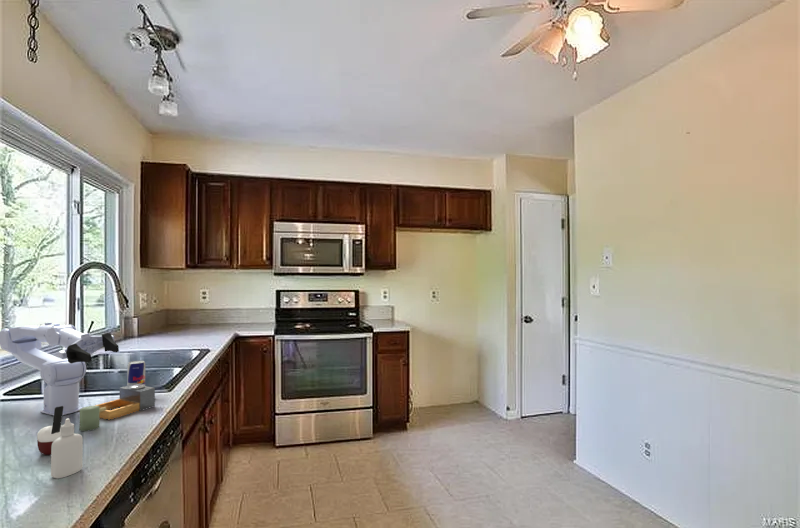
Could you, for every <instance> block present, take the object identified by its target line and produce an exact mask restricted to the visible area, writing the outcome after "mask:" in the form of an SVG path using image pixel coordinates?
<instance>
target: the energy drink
mask: <svg viewBox="0 0 800 528" xmlns="http://www.w3.org/2000/svg"><path fill="white" fill-rule="evenodd" d="M126 370H127V373H126V374H127V377H126V378H127V382H126V383H127V384H126V386H129V385H133V384H144V385H145V386H146V362H145V360H131V361H128V364H127V369H126Z"/></svg>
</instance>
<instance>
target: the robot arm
mask: <svg viewBox="0 0 800 528" xmlns="http://www.w3.org/2000/svg"><path fill="white" fill-rule="evenodd" d="M115 340H116V339H115V335H112V334H111V332H110V333H109V332H106V333H103V334H101V335H90V333H89V332H84V333H83V332H81V331H79V330H77V328H76V326H74V325H73V324H71V323H70V324H65V325H61V324H60V323H53V322H44V323H43V324H41V325H38V324H32V325H30V324H29V325H21V326H14V327H8V328H2V329H1V330H0V348H1V349H2V350H3V351H6V352H8V353H11V354H12V356H13V357H14V358H15V359H17V361H18V362H20V363H22V364H24V365H26V366H28V367H31V368H33V369H34V370H38V371H39V374H40V376H39V377H40V379H42V380H43V381H44V383H46V384H47V385H46V386H45V388H44V391H43V409H41V410H40V411H39V412H40V413H42V414H47V415H50V416H53V417H54V411H55V408H56V407H60V406H63V414H62V416H65V415H69V414H72V413H76V412H80V409H81V408H83V407H84V406H79V405H80V402H79V401H80V400H79V397H80V396H79V394H80V382H81V381H82V378H84V377H85V375H86V373H87V364H86V363H91V362H93V361H92V355H93V354H94V353H96V352H97V351H99V350H100V349H102V348H103V347H104V348H103V349H104V352H105V353H106V352H112V353H118V352H120V350H119V349H120V348H119V345H118V343H116V341H115ZM42 343H46V344H48V345H49V347H54V346H61V347H63V349H61V350H59V351H58V356H55V355H53V354H51V353H49V352H45V351H43V350H41V349H42V347H43V346H42Z"/></svg>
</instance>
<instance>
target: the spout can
mask: <svg viewBox="0 0 800 528" xmlns="http://www.w3.org/2000/svg"><path fill="white" fill-rule="evenodd" d="M82 407H83V408H81V409H80V411H79V431H81V432H87V431H88V430H89V431H94V430H97V429H98V428H100V418H99V412H101V411H105V410H106V407H103V408H100V407H99V406H95V405H89V406H82ZM96 428H97V429H96ZM93 429H94V430H93Z"/></svg>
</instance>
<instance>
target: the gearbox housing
mask: <svg viewBox="0 0 800 528" xmlns="http://www.w3.org/2000/svg"><path fill="white" fill-rule="evenodd" d="M155 389H156V387H152V386H147V385H146V384H145V385H144V384H133V385H129V386H127V385H126V386H122V387H121V386H120V387H119V398H118V399H115V400H114V399H113V400H111V401H110V400H109V401H106V402H103V403H100V404H95V405H94V406H99V407H100V408H103V407H106V410H105V411H101V412H99V419H102V418H103V420H106V419H108V420H107V421H111V420H113V419H114V418H115V419H117V417H118V418H121V417H123V416H128V415H130V413H131V414H134V413H137V412H140V411H139V410H141V411H144V410H143V409H145V410H147V409H146V408H148V409H150V408H149V407H151V408H153V407H152V406H154V407H155V402H156V401H155V400H156V393H155V392H156V390H155ZM118 407H120V408H118ZM114 408H115V409H114ZM110 409H112V410H110ZM136 411H137V412H136ZM133 412H134V413H133ZM127 414H128V415H127ZM110 419H111V420H110ZM115 419H114V420H115Z"/></svg>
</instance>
